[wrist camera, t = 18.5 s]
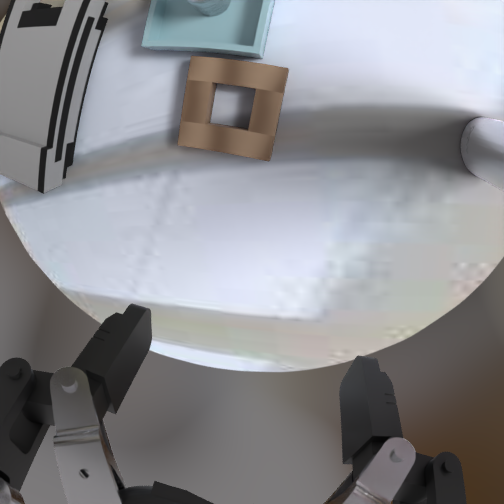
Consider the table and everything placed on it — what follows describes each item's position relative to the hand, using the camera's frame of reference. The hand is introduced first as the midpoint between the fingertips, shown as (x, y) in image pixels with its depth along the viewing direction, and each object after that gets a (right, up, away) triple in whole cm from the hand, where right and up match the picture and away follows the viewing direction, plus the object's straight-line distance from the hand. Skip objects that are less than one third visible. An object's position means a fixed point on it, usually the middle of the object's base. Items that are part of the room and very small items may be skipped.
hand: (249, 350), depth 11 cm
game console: (-34, +33, +25) cm, 53 cm away
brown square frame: (-2, +22, +25) cm, 34 cm away
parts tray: (-5, +36, +19) cm, 41 cm away
